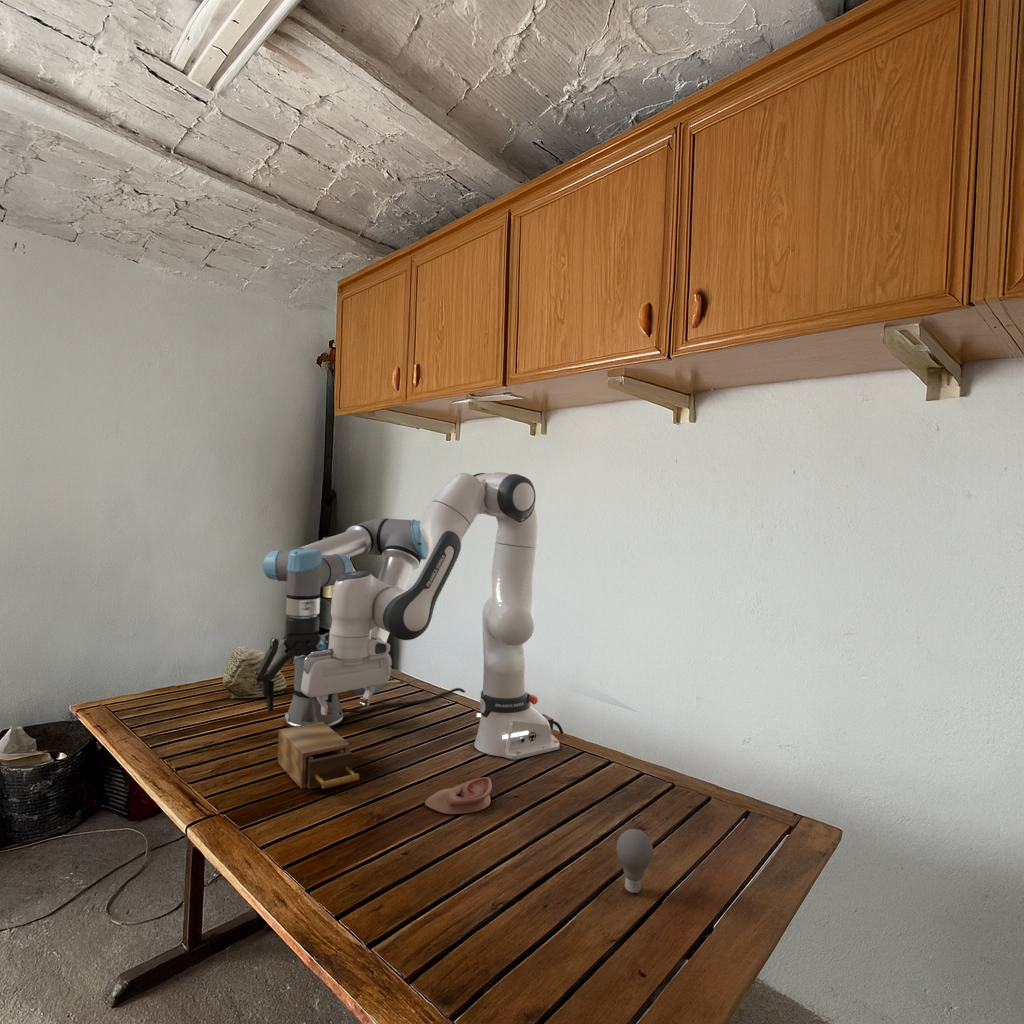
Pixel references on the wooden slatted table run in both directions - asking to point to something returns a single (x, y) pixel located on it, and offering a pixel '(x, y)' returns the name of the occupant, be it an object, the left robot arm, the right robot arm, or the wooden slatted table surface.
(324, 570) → the left robot arm
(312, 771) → the drawer
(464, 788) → the anatomical model
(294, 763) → the cabinet
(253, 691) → the fossil
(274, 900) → the wooden slatted table surface
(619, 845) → the light bulb
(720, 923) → the wooden slatted table surface
